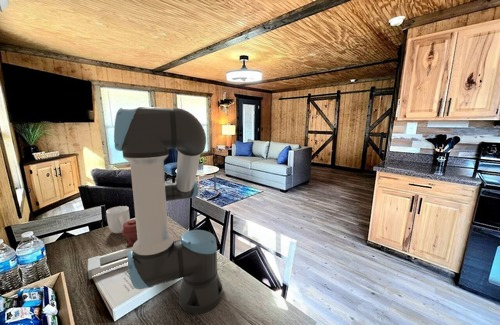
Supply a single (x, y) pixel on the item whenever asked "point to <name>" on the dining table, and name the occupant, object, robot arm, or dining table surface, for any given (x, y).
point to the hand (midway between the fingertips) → (157, 248)
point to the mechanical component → (130, 232)
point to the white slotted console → (98, 260)
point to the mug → (117, 218)
